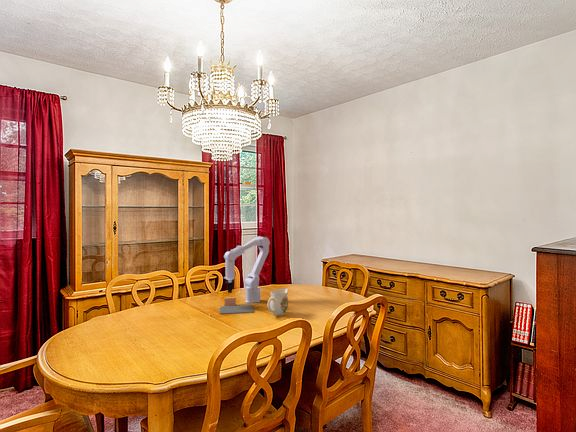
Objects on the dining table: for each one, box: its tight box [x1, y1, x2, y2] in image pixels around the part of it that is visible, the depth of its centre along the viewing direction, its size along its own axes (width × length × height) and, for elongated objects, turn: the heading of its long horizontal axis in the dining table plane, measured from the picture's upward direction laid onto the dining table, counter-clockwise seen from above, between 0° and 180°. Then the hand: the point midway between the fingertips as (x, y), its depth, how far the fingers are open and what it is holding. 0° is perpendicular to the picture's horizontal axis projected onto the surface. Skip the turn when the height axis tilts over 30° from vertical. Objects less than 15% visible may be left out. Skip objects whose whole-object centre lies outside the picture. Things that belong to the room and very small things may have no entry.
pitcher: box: [266, 287, 289, 317], centre depth 201 cm, size 11×18×14 cm, turn 143°
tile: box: [224, 296, 237, 306], centre depth 220 cm, size 7×2×5 cm, turn 99°
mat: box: [219, 304, 255, 315], centre depth 210 cm, size 20×14×1 cm
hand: (230, 291), depth 219 cm, fingers open, 7 cm apart
